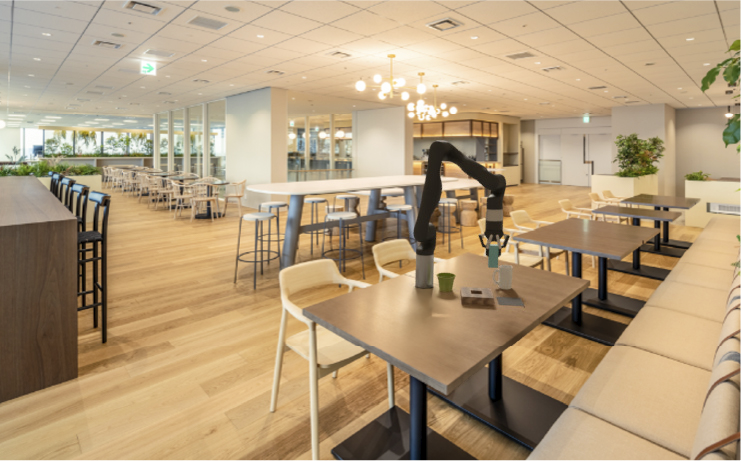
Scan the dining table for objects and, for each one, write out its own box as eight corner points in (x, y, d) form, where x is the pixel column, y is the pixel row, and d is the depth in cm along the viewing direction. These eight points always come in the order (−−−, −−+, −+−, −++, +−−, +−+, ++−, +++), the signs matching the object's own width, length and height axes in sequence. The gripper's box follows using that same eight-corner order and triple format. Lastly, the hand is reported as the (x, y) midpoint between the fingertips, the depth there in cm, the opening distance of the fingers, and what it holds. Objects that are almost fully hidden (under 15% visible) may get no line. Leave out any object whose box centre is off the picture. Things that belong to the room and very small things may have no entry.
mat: (498, 306, 180) (498, 304, 179) (495, 298, 190) (495, 296, 190) (524, 308, 178) (524, 306, 177) (520, 299, 188) (520, 297, 188)
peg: (488, 267, 180) (489, 245, 179) (487, 265, 184) (488, 244, 182) (497, 267, 179) (498, 246, 178) (497, 265, 183) (497, 244, 182)
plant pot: (455, 295, 195) (455, 278, 194) (435, 294, 197) (436, 277, 196) (455, 289, 204) (455, 272, 203) (436, 288, 206) (436, 272, 205)
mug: (508, 286, 207) (509, 264, 205) (514, 291, 201) (515, 268, 199) (489, 287, 206) (490, 265, 204) (494, 291, 200) (495, 268, 198)
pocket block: (461, 305, 181) (461, 296, 180) (460, 295, 195) (460, 286, 194) (493, 307, 179) (493, 298, 178) (490, 297, 192) (490, 288, 191)
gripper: (478, 220, 176) (477, 258, 179) (512, 220, 173) (510, 258, 176) (477, 218, 183) (476, 254, 186) (509, 218, 180) (508, 255, 183)
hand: (493, 256), depth 181 cm, fingers closed on peg, 4 cm apart
